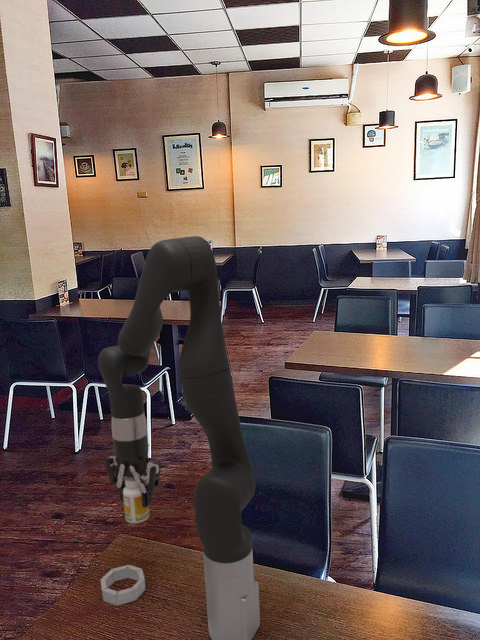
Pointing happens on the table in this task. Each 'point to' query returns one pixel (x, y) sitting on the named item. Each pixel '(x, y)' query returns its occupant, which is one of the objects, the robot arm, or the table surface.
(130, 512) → the supplement bottle
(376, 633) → the table surface
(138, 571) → the ring holder
